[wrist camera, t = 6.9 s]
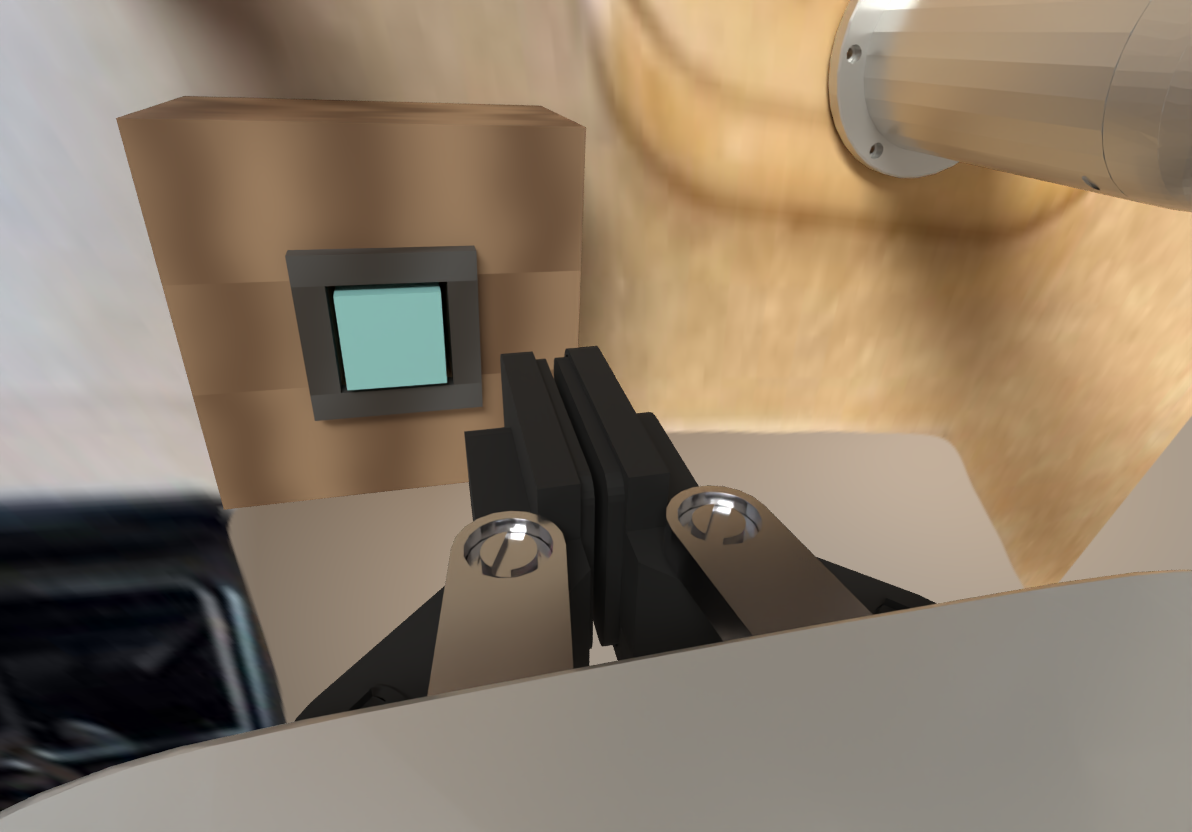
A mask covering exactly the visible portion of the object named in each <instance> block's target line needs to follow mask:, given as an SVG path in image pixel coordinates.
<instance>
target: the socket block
mask: <svg viewBox="0 0 1192 832" xmlns="http://www.w3.org/2000/svg"><path fill="white" fill-rule="evenodd" d="M116 120H117V123H118V127H119V130H120V134H121V138H122V141H123V145H124V149H125V152H126V156H127V159H128V163H129V167H130V170H131V174H132V178H133V181H134V185H135V188H136V192H137V196H138V199H139V203H140V207H141V210H142V214H143V217H144V221H145V225H146V228H147V232H148V236H149V239H150V243H151V246H152V250H153V254H154V257H155V261H156V265H157V268H158V272H159V275H160V279H161V283H162V286H163V290H164V294H165V297H166V301H167V304H168V308H169V312H170V315H171V319H172V322H173V326H174V330H175V333H176V337H177V341H178V344H179V348H180V351H181V355H182V359H183V362H184V366H185V370H186V373H187V377H188V380H189V384H190V388H191V391H192V395H193V399H194V402H195V406H196V409H197V413H198V417H199V420H200V424H201V428H202V431H203V435H204V438H205V442H206V446H207V449H208V453H209V457H210V460H211V464H212V467H213V471H214V475H215V478H216V482H217V486H218V489H219V493H220V496H221V500H222V504H223V507H224V509H233V508H242V507H251V506H260V505H268V504H277V503H285V502H295V501H304V500H313V499H322V498H331V497H339V496H348V495H357V494H365V493H375V492H384V491H392V490H402V489H410V488H419V487H428V486H437V485H446V484H455V483H464V482H469V478H468V468H467V458H466V447H465V437H464V431H473V430H483V429H492V428H502V427H504V414H503V398H502V382H501V366H500V355H501V354H506V353H518V352H530V351H533V353H534V356H535V359H546V360H547V363H548V365H549V368H550V370H551V373H552V376H553V378H554V359H555V358H558V357H564V354H565V350H566V349H567V348H578V335H579V307H580V279H581V252H582V224H583V196H584V168H585V140H586V127H584V126H582V125H580V124H578V123H576V122H574V121H571V120H569V119H567V118H565V117H563V116H561V115H559V114H557V113H555V112H553V111H551V110H549V109H546V108H544V107H542V106H526V105H490V104H454V103H417V102H381V101H344V100H308V99H271V98H235V97H198V96H183V97H180V98H177V99H174V100H171V101H168V102H165V103H162V104H158V105H155V106H152V107H149V108H146V109H143V110H140V111H137V112H134V113H131V114H128V115H125V116H121V117H118V118H116ZM422 282H439V286H440V291H441V303H442V317H443V332H444V346H445V361H446V376H447V383H439V384H425V385H412V386H399V387H385V388H372V389H359V390H347V384H346V378H345V371H344V364H343V358H342V351H341V344H340V338H339V331H338V324H337V318H336V311H335V304H334V297H333V296H334V291H335V286H343V285H369V284H395V283H422Z"/></svg>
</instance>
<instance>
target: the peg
mask: <svg viewBox="0 0 1192 832" xmlns="http://www.w3.org/2000/svg"><path fill="white" fill-rule="evenodd" d="M333 297H334V304H335V311H336V318H337V324H338V331H339V338H340V344H341V351H342V358H343V364H344V371H345V378H346V384H347V390H359V389H372V388H385V387H399V386H412V385H425V384H439V383H447V376H446V361H445V346H444V332H443V317H442V303H441V291H440V286H439V282H422V283H395V284H369V285H343V286H335V291H334V296H333Z"/></svg>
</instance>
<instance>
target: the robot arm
mask: <svg viewBox="0 0 1192 832" xmlns="http://www.w3.org/2000/svg"><path fill="white" fill-rule="evenodd" d="M847 52H848V54H847ZM828 86H829V98H830V108H831V112H832V116H833V119H834V123H835V127H836V129H837V131H838V133H839V135H840V137H841V139H842V141H843V143H844V145H845V146H846V148H847V149H848V150H849V151H850V152H851V154H852V155H853V156H854V157H855V158H856V159H857V160H858V161H860V162H861V163H862V164H864V165H865V166H866V167H868V168H870V169H872V170H875V171H877V172H880V173H882V174H885V175H890V176H894V177H898V178H920V177H924V176H929V175H933V174H936V173H939V172H941V171H943V170H946V169H948V168H950V167H952V166H954V165H956V164H957V163H959V162H963V163H968V164H972V165H976V166H981V167H985V168H990V169H994V170H998V171H1003V172H1007V173H1012V174H1016V175H1020V176H1025V177H1029V178H1034V179H1038V180H1042V181H1047V182H1051V183H1056V184H1060V185H1064V186H1069V187H1073V188H1078V189H1082V190H1086V191H1091V192H1095V193H1100V194H1104V195H1108V196H1113V197H1117V198H1122V199H1126V200H1131V201H1135V202H1140V203H1145V204H1149V205H1154V206H1158V207H1162V208H1167V209H1172V210H1178V211H1186V212H1192V0H850V1H849V3H848V5H847V7H846V9H845V11H844V14H843V17H842V19H841V22H840V25H839V27H838V30H837V33H836V36H835V41H834V45H833V49H832V54H831V58H830V69H829V82H828ZM500 366H501V382H502V398H503V414H504V427H502V428H492V429H483V430H473V431H464V437H465V447H466V458H467V468H468V478H469V488H470V497H471V506H472V515H473V522H472V523H470V524H468V525H467V526H465V527H464V528H463V529H462V530H461V532H460V533H459V534H458V535H457V536H456V537H455V540H454V542H453V545H452V547H451V551H450V558H449V563H448V570H447V576H446V583H445V586H444V587H443V588H442V589H441V590H439V591H438V592H437V593H436V594H435V595H434V596H432V597H431V598H430V599H429V600H428V601H427V602H426V603H424V604H423V605H422V606H421V607H420V608H419V609H418V610H416V611H415V612H414V613H413V614H412V615H411V616H409V617H408V618H407V619H406V620H405V621H404V622H403V623H401V624H400V625H399V626H398V627H397V628H396V629H395V630H393V631H392V632H391V633H390V634H389V635H388V636H387V637H385V638H384V639H383V640H382V641H381V642H380V643H379V644H377V645H376V646H375V647H374V648H373V649H372V650H370V651H369V652H368V653H367V654H366V655H365V656H364V657H362V658H361V659H360V660H359V661H358V662H357V663H356V664H354V665H353V666H352V667H351V668H350V669H349V670H347V671H346V672H345V673H344V674H343V675H342V676H341V677H339V678H338V679H337V680H336V681H335V682H334V683H332V684H331V685H330V686H329V687H328V688H327V689H326V690H325V691H323V692H322V693H321V694H320V695H319V696H318V697H317V698H315V699H314V700H313V701H312V702H311V703H310V704H309V705H308V706H307V707H306V708H305V709H304V711H303V712H302V713H301V714H300V715H299V716H298V717H297V718H296V720H295V722H291V723H286V724H282V725H277V726H273V727H268V728H264V729H259V730H255V731H250V732H246V733H241V734H237V735H232V736H228V737H223V738H218V739H214V740H209V741H205V742H200V743H196V744H191V745H187V746H182V747H178V748H174V749H171V750H167V751H164V752H160V753H157V754H154V755H150V756H147V757H143V758H140V759H136V760H133V761H129V762H126V763H122V764H119V765H115V766H112V767H109V768H106V769H104V770H101V771H98V772H96V773H93V774H90V775H88V776H85V777H82V778H80V779H77V780H74V781H71V782H69V783H66V784H63V785H61V786H58V787H55V788H53V789H50V790H47V791H45V792H42V793H39V794H37V795H35V796H33V797H30V798H28V799H26V800H24V801H22V802H20V803H18V804H16V805H14V806H11V807H9V808H7V809H5V810H3V811H1V812H0V832H1192V570H1167V571H1152V572H1151V571H1149V572H1133V573H1126V574H1119V575H1111V576H1105V577H1097V578H1090V579H1083V580H1075V581H1069V582H1061V583H1054V584H1048V585H1042V586H1037V587H1031V588H1025V589H1019V590H1014V591H1008V592H1002V593H996V594H990V595H985V596H979V597H973V598H967V599H962V600H956V601H950V602H944V603H938V604H936V603H935V602H932V601H930V600H928V599H926V598H924V597H922V596H920V595H918V594H915V593H912V592H910V591H907V590H904V589H901V588H898V587H896V586H893V585H891V584H888V583H885V582H883V581H880V580H877V579H874V578H872V577H869V576H866V575H863V574H861V573H858V572H856V571H853V570H850V569H847V568H845V567H842V566H839V565H837V564H834V563H831V562H829V561H826V560H823V559H820V558H818V557H815V556H814V555H813V554H812V552H811V551H810V550H809V549H807V547H806V546H805V545H804V544H803V543H801V541H800V540H799V539H798V538H797V537H796V536H795V535H794V534H793V533H792V532H791V531H790V530H789V529H788V528H787V527H786V526H785V525H784V524H783V523H782V522H781V521H780V520H779V519H778V518H777V517H776V516H775V515H774V514H773V513H772V512H771V511H770V510H769V509H768V508H767V507H766V506H765V505H764V504H762V503H761V502H760V501H758V500H757V499H756V498H755V497H753V496H751V495H749V494H746V493H744V492H742V491H740V490H737V489H732V488H729V487H725V486H711V485H707V486H698V484H697V483H696V481H695V480H694V478H693V476H692V475H691V473H690V471H689V470H688V468H687V467H686V465H685V463H684V462H683V460H682V458H681V457H680V455H679V453H678V452H677V450H676V449H675V447H674V446H673V444H672V442H671V440H670V439H669V437H668V436H667V434H666V432H665V431H664V429H663V427H662V426H661V424H660V423H659V421H658V419H657V418H656V416H655V415H654V414H653V413H651V412H646V413H636V412H635V411H634V409H633V407H632V405H631V404H630V402H629V400H628V398H627V397H626V395H625V393H624V391H623V390H622V388H621V386H620V384H619V382H618V381H617V379H616V377H615V375H614V374H613V372H612V370H611V368H610V367H609V365H608V363H607V361H606V360H605V358H604V356H603V354H602V353H601V351H600V349H599V348H598V347H597V346H591V347H579V348H567V349H566V350H565V354H564V357H558V358H555V359H554V378H553V376H552V373H551V370H550V368H549V365H548V363H547V360H546V359H535V356H534V353H533V351H530V352H518V353H506V354H501V355H500ZM593 622H594V625H595V628H596V632H597V635H598V638H599V641H600V644H601V646H609V645H613V647H614V650H615V654H616V657H617V660H618V661H614V662H608V663H603V664H598V665H593V666H589V649H591V648H592V642H593Z"/></svg>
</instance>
